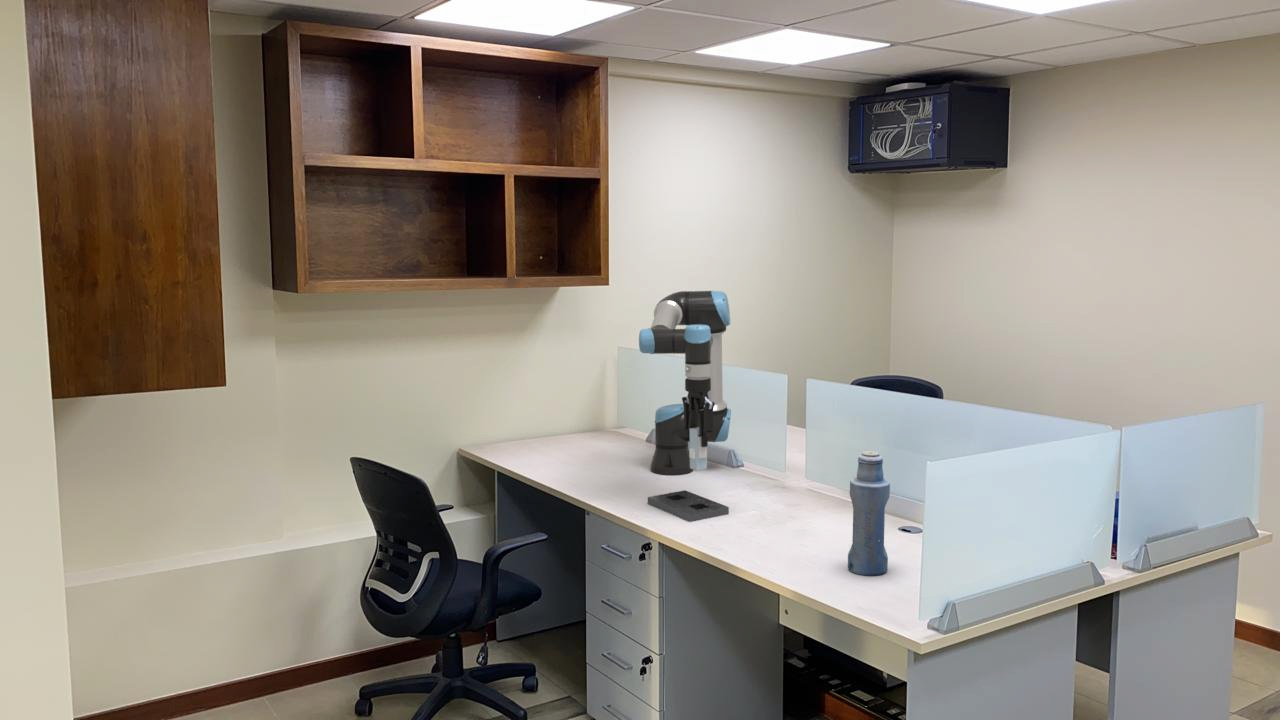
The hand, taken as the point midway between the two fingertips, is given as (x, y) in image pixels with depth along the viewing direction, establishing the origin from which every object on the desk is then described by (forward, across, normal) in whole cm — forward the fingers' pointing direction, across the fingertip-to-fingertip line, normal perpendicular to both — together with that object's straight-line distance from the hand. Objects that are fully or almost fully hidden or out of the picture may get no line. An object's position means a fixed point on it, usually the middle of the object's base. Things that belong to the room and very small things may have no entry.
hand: (698, 455), depth 295 cm
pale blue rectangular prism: (+4, 0, 0) cm, 4 cm away
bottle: (+19, +62, +8) cm, 65 cm away
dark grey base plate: (+18, -6, 0) cm, 19 cm away
